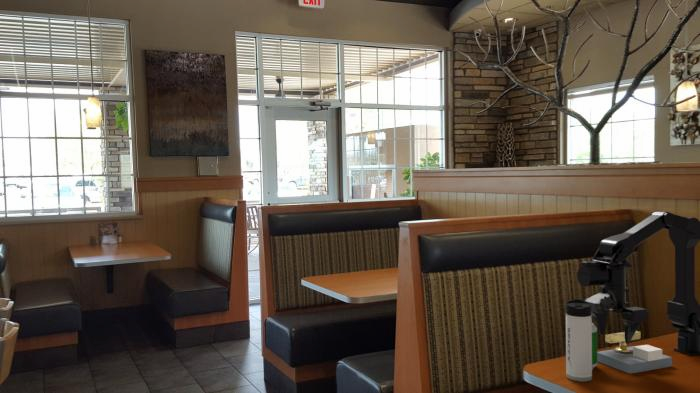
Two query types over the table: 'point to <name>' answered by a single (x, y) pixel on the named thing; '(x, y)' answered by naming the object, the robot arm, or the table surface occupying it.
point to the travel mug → (578, 340)
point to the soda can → (594, 346)
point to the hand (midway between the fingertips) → (614, 339)
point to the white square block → (647, 352)
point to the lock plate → (631, 361)
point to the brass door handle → (621, 340)
